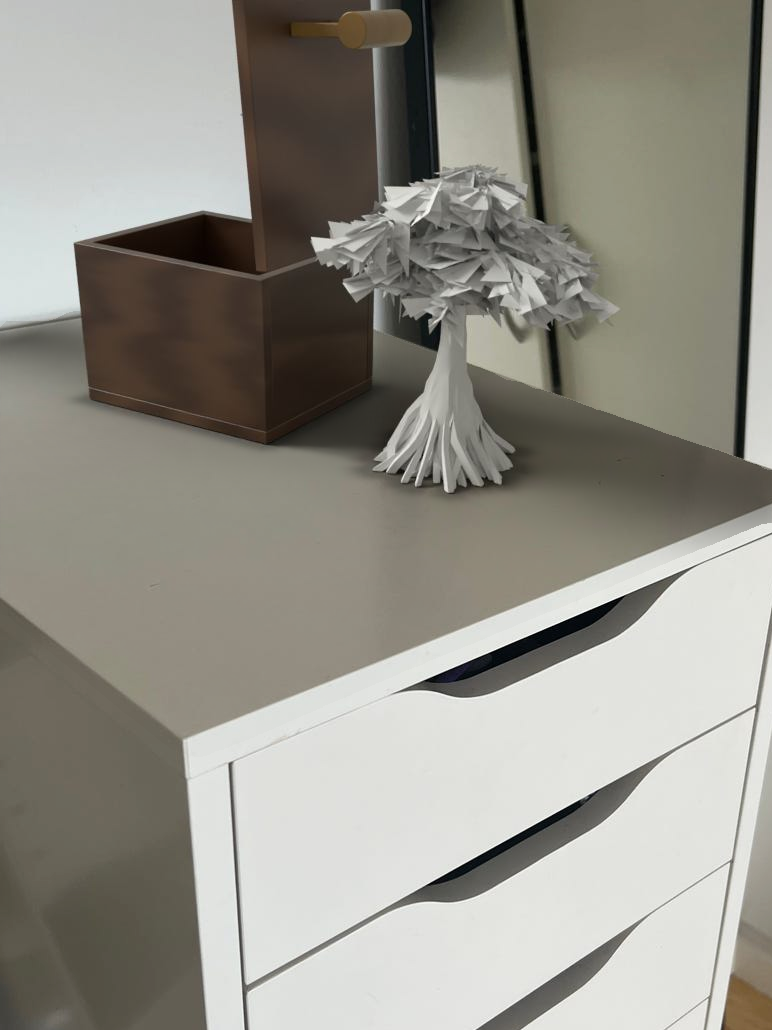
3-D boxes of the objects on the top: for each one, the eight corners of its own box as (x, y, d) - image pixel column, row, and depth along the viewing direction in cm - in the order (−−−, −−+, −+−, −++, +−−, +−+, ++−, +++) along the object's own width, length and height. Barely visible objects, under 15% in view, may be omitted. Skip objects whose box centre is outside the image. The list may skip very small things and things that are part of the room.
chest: (89, 399, 78) (73, 242, 73) (209, 350, 88) (202, 210, 83) (266, 444, 73) (261, 280, 68) (372, 388, 83) (375, 241, 78)
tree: (612, 525, 66) (652, 209, 58) (317, 528, 64) (315, 198, 55) (546, 409, 82) (570, 146, 73) (306, 408, 79) (303, 135, 71)
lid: (228, -23, 61) (323, -24, 59) (358, -24, 71) (443, -25, 69) (255, 271, 68) (341, 280, 66) (370, 233, 78) (447, 240, 76)
